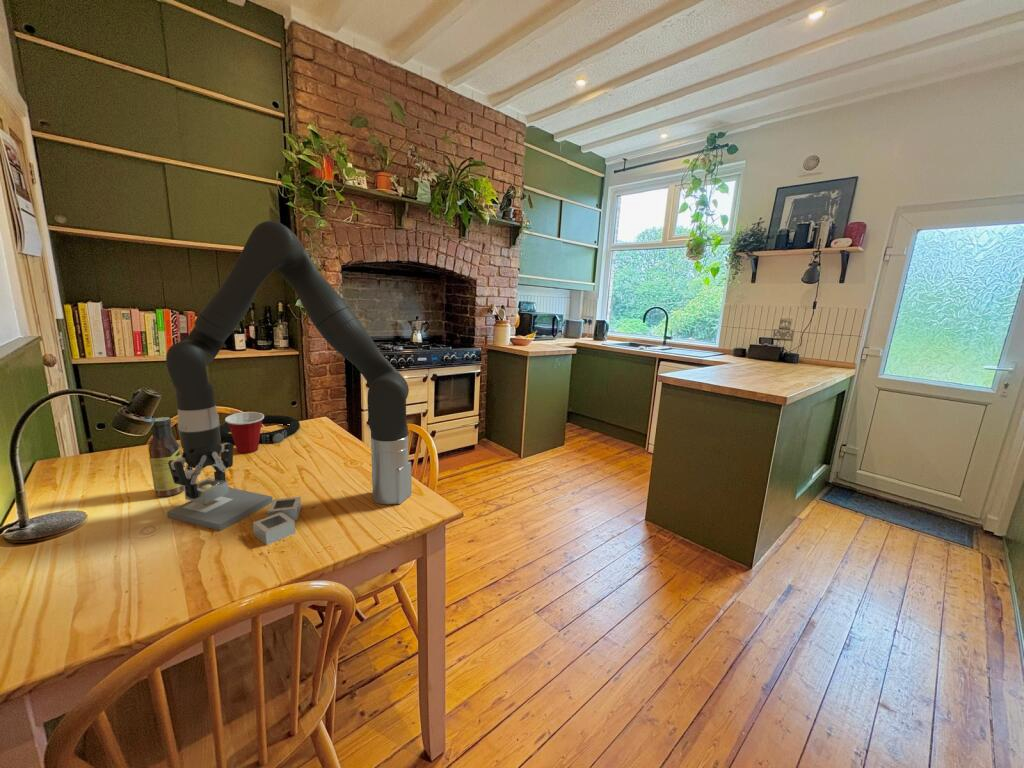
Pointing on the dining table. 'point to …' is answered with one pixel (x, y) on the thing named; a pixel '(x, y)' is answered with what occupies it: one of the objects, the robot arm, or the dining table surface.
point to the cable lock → (265, 437)
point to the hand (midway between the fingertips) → (207, 491)
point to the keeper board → (220, 509)
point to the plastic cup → (245, 430)
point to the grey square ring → (210, 490)
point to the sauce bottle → (164, 457)
